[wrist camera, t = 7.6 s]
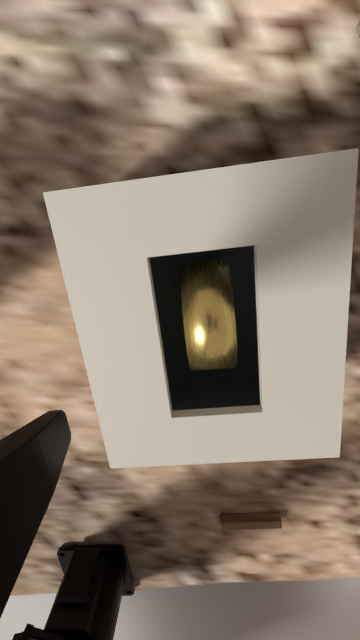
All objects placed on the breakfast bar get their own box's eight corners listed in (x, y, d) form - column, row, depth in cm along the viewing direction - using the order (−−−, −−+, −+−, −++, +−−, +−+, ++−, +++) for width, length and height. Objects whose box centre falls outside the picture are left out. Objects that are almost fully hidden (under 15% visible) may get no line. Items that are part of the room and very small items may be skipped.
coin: (229, 343, 21) (240, 388, 15) (193, 345, 21) (191, 391, 15) (222, 253, 19) (232, 266, 13) (184, 257, 19) (177, 272, 13)
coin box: (297, 384, 22) (339, 457, 15) (135, 396, 23) (110, 468, 17) (298, 172, 18) (358, 148, 11) (97, 199, 19) (42, 192, 12)
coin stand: (279, 519, 26) (281, 528, 26) (221, 521, 27) (222, 529, 26) (277, 438, 24) (280, 445, 23) (213, 442, 24) (213, 449, 23)
